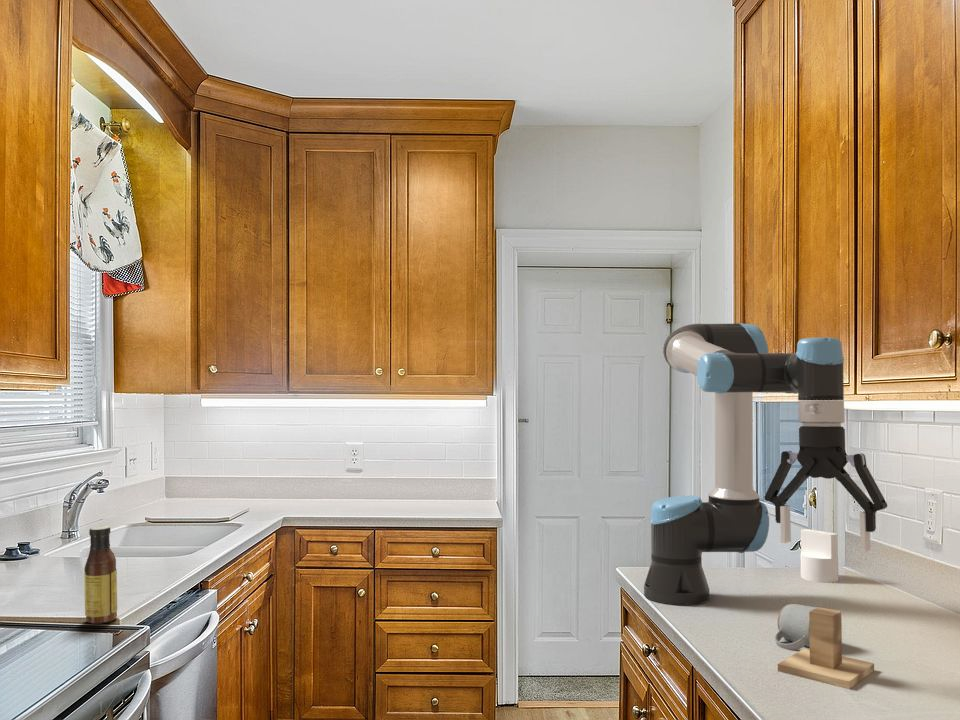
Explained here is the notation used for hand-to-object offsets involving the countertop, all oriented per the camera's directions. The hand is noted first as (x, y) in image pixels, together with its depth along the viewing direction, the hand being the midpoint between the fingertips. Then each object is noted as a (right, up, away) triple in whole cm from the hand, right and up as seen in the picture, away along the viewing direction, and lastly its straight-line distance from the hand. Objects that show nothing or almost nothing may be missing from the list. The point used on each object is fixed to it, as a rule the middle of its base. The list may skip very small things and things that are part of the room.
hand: (824, 546), depth 142 cm
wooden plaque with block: (0, -21, -1) cm, 21 cm away
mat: (0, -22, -1) cm, 22 cm away
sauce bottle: (-141, -23, +30) cm, 146 cm away
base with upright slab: (+28, -24, +68) cm, 77 cm away
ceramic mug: (+1, -23, +14) cm, 26 cm away
